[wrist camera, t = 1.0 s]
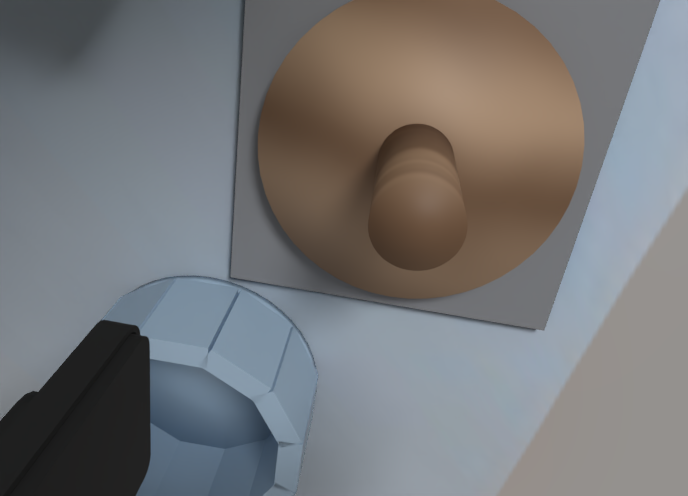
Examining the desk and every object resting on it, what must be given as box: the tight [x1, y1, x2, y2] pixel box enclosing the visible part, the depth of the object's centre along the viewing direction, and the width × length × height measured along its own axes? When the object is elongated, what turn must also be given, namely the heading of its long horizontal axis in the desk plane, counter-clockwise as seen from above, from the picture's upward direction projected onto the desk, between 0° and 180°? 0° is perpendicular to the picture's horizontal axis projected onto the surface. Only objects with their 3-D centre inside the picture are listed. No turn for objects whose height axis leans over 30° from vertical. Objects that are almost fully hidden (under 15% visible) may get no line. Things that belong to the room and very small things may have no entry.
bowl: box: [102, 276, 318, 496], centre depth 28 cm, size 11×11×5 cm
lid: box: [258, 0, 584, 299], centre depth 20 cm, size 12×12×7 cm
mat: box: [230, 0, 660, 330], centre depth 23 cm, size 14×14×1 cm
